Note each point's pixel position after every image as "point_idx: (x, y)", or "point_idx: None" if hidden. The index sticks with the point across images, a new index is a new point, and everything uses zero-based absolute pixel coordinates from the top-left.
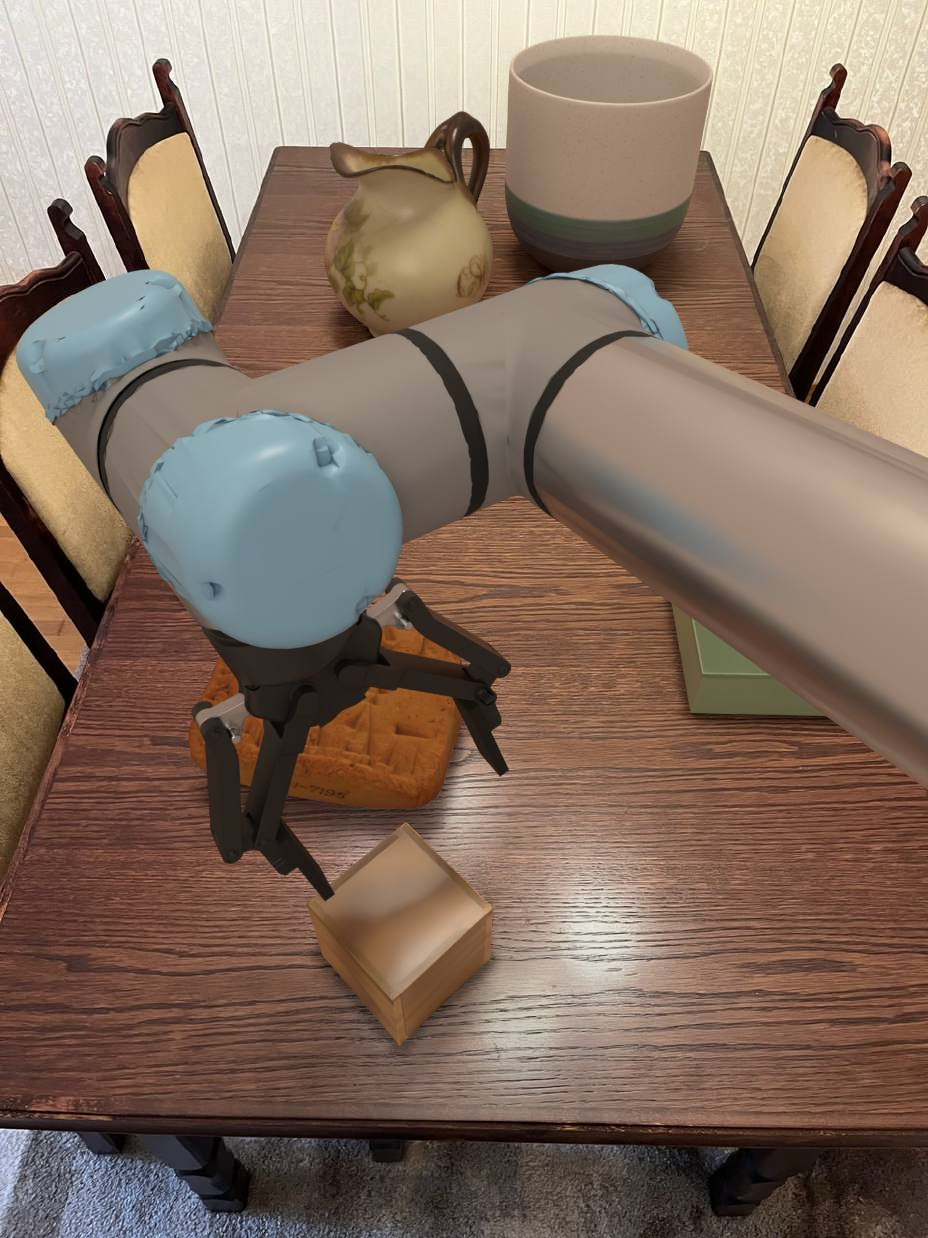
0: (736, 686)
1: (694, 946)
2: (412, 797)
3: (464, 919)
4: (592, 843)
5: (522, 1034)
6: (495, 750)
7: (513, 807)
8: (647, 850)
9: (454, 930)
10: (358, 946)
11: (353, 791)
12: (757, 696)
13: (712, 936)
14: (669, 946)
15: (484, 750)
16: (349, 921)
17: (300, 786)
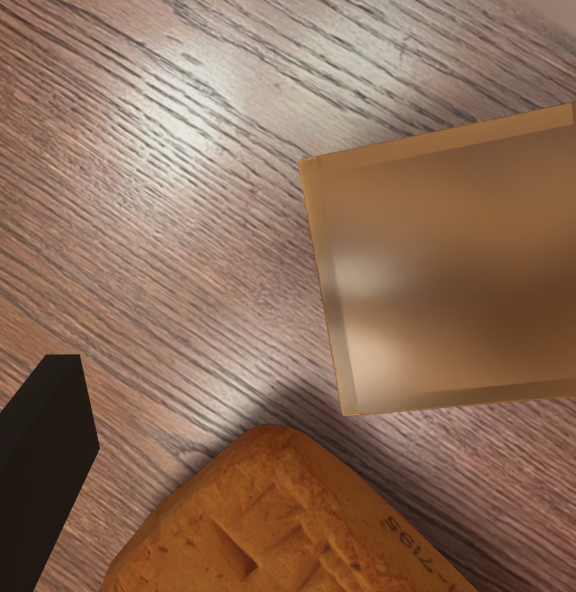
0: None
1: (78, 25)
2: (295, 449)
3: (361, 171)
4: (111, 235)
5: (357, 48)
6: (4, 426)
7: (175, 347)
8: (53, 182)
9: (392, 162)
10: None
11: (373, 518)
12: None
13: (49, 24)
14: (106, 44)
15: (49, 449)
16: (570, 305)
17: (445, 581)
